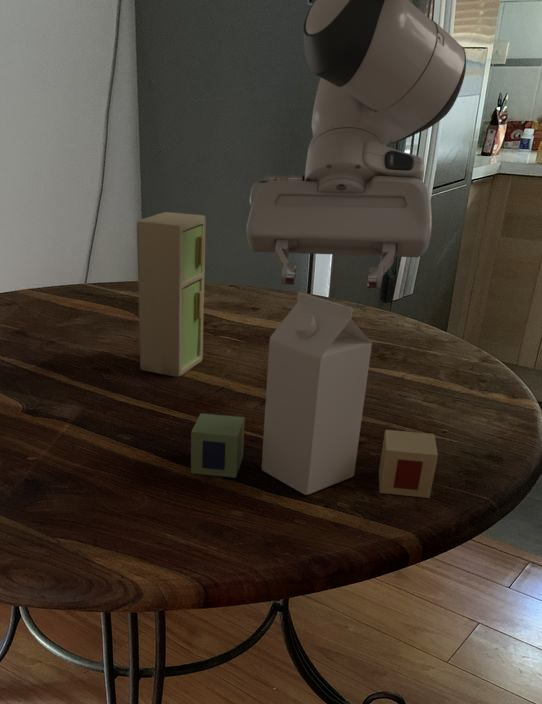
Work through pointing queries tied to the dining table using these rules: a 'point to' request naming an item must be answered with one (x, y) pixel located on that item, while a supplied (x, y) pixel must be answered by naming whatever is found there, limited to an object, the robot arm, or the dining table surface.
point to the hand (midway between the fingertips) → (330, 283)
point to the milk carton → (314, 395)
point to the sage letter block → (217, 445)
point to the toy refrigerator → (171, 291)
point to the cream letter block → (407, 463)
